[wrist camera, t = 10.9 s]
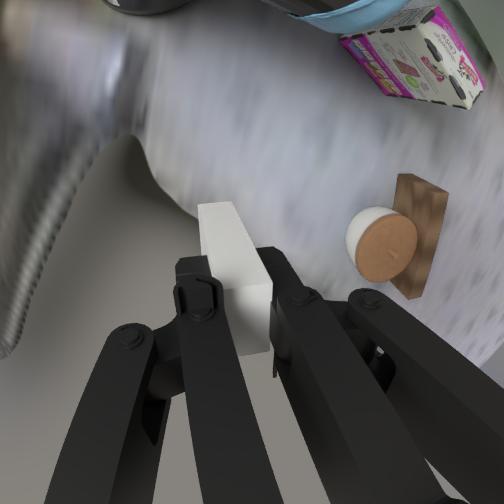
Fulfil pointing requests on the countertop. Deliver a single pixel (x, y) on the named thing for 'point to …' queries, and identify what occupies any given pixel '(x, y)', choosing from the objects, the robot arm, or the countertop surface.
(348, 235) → the lidded jar
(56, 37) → the countertop surface
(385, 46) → the candy bar box
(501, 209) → the countertop surface
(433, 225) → the board
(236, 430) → the robot arm
